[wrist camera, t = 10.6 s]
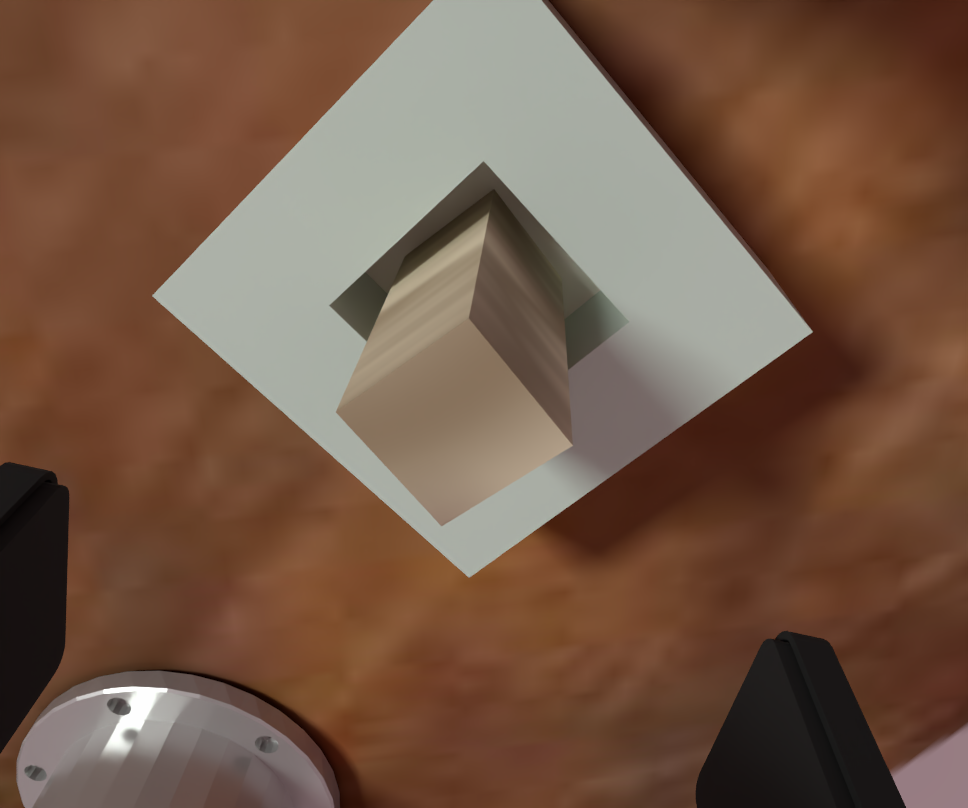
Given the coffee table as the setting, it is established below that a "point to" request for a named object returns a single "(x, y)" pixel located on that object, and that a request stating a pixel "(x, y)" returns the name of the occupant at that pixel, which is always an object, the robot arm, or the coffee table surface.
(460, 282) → the birch stick
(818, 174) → the coffee table surface
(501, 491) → the grey square socket block
